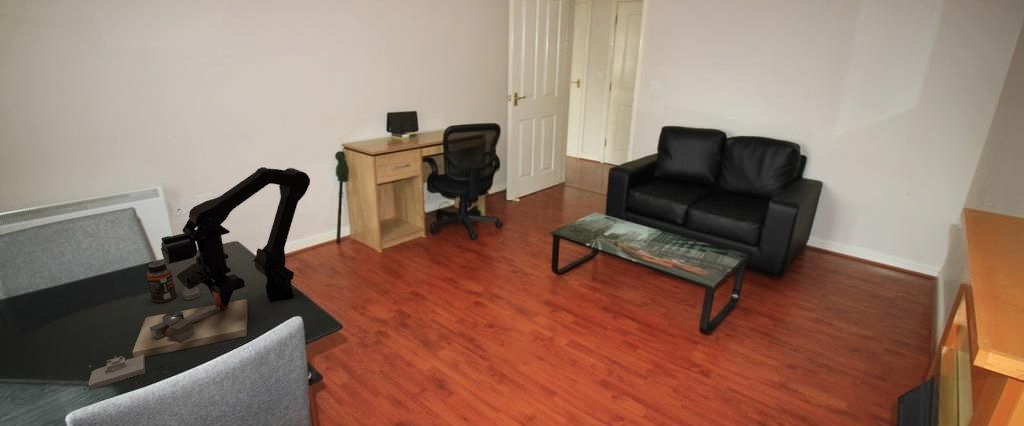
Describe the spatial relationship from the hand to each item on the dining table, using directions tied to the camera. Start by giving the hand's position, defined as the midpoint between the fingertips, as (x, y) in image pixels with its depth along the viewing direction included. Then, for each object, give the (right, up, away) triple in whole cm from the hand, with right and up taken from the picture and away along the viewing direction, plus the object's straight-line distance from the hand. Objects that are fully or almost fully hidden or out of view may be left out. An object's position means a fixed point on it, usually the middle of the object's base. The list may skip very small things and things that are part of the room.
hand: (221, 303), depth 135 cm
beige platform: (-11, -12, -21) cm, 27 cm away
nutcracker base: (-4, -6, -5) cm, 9 cm away
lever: (-4, -3, -5) cm, 8 cm away
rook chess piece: (-15, 0, +11) cm, 19 cm away
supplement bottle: (-23, 0, +10) cm, 25 cm away
